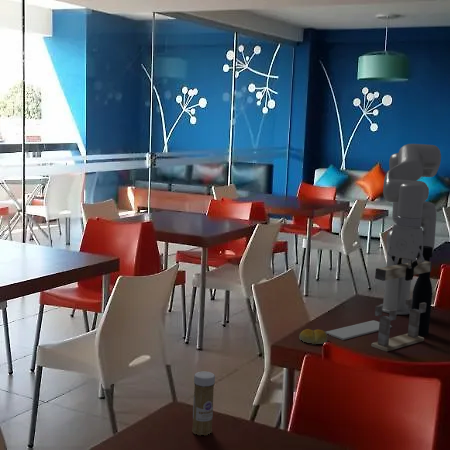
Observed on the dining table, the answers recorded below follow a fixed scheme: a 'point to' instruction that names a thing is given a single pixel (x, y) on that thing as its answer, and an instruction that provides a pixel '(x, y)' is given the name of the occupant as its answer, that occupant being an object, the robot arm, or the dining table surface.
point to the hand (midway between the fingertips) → (403, 278)
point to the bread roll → (313, 336)
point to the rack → (402, 340)
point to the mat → (355, 330)
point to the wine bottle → (423, 295)
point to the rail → (401, 270)
